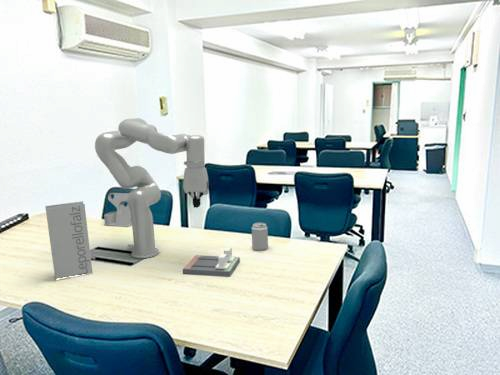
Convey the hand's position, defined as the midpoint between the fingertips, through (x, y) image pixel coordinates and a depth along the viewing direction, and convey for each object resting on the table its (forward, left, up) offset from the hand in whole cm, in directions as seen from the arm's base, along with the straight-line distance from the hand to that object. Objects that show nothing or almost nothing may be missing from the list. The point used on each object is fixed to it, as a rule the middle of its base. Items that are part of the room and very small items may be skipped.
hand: (196, 206), depth 181 cm
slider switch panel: (+8, -8, -24) cm, 27 cm away
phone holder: (-67, +49, -25) cm, 87 cm away
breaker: (+14, -4, -22) cm, 26 cm away
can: (+24, +18, -25) cm, 39 cm away
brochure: (-47, -23, -25) cm, 58 cm away
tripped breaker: (+14, -12, -22) cm, 29 cm away
